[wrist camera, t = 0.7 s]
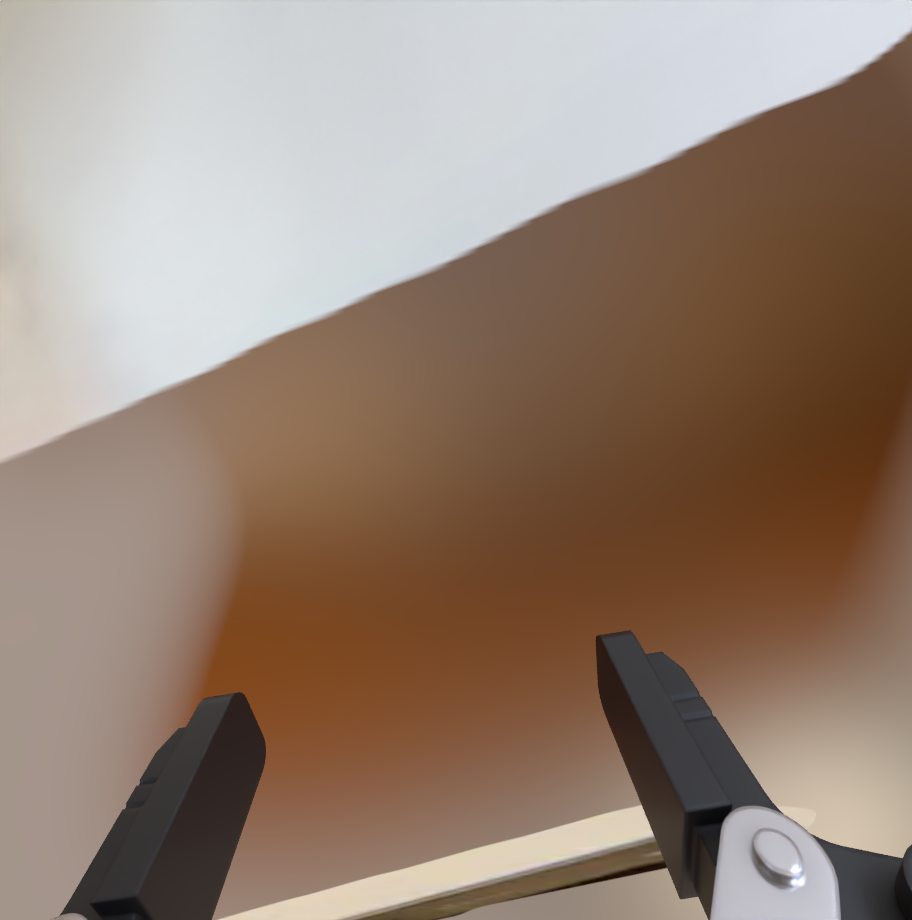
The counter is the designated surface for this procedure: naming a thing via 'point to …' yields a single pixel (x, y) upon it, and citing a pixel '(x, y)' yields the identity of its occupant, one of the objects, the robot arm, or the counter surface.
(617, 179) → the counter surface
